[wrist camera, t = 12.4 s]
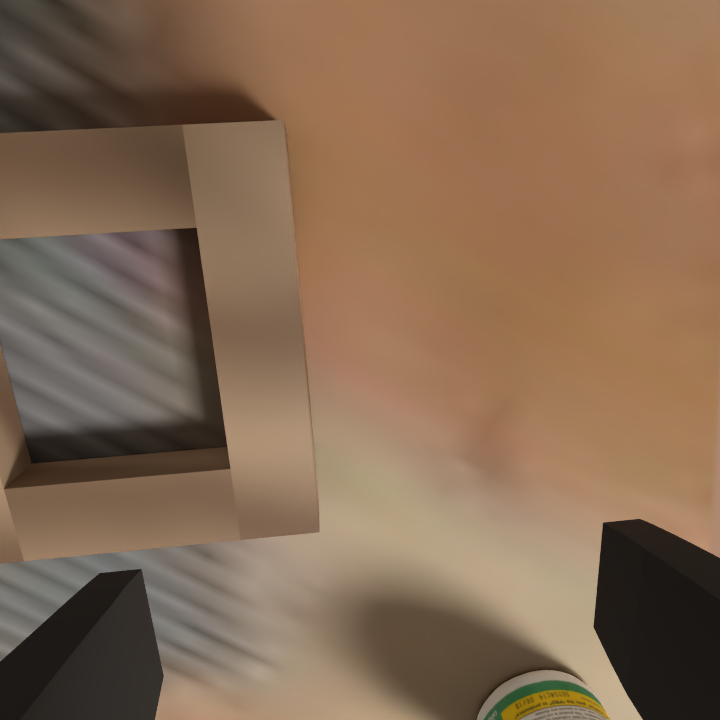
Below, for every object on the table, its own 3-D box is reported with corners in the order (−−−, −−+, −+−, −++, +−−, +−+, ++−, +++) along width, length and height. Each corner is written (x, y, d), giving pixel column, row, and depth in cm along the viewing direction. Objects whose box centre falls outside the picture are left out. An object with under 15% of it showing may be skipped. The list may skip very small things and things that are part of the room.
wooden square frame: (318, 504, 18) (319, 532, 17) (-29, 537, 18) (-61, 569, 16) (285, 128, 15) (282, 119, 13) (-150, 149, 14) (-206, 142, 12)
